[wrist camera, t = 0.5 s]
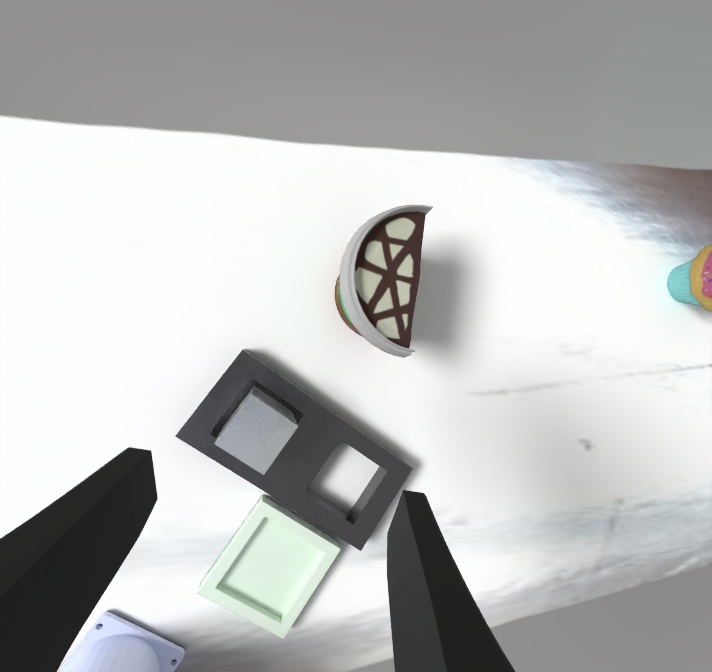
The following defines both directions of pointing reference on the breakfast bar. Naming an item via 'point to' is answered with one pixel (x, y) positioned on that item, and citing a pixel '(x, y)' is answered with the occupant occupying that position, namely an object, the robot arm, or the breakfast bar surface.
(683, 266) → the cupcake
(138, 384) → the breakfast bar surface
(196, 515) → the breakfast bar surface
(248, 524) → the parts tray
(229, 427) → the grey rectangular block
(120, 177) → the breakfast bar surface
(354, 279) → the food container
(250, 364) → the dark grey rectangular frame
